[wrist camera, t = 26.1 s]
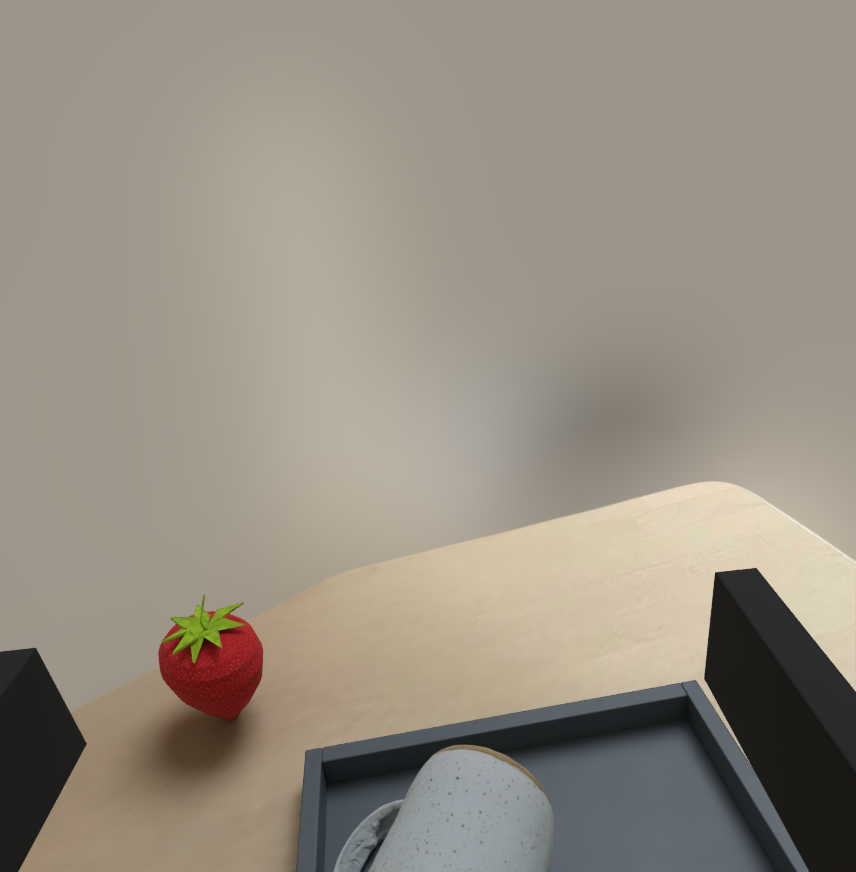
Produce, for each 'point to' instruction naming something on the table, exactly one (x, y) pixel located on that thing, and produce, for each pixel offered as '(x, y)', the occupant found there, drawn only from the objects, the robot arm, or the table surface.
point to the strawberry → (212, 661)
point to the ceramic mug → (459, 820)
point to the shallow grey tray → (580, 785)
